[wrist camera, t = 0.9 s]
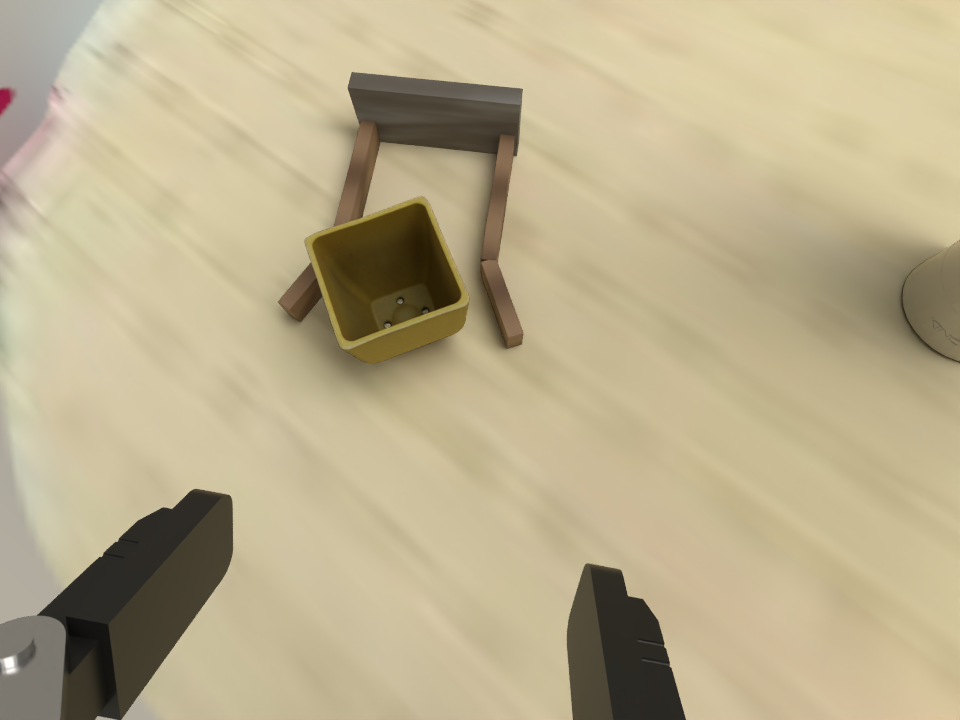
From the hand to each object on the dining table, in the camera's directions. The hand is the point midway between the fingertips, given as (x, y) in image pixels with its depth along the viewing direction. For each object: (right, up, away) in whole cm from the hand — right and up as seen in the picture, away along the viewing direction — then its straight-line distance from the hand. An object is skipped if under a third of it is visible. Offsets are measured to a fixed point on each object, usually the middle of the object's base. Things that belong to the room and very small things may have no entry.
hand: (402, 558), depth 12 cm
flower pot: (-4, +8, +32) cm, 33 cm away
